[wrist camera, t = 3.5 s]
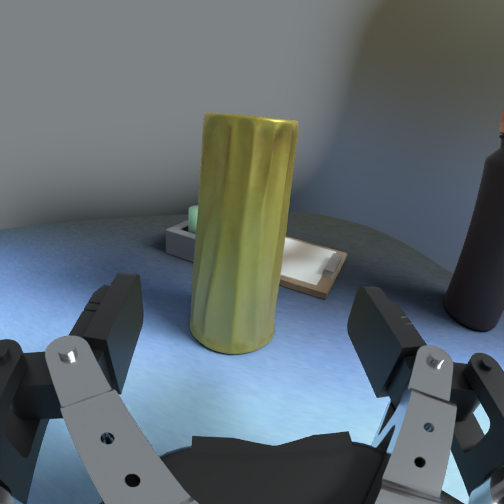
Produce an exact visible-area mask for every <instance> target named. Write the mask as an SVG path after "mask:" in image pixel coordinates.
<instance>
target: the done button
mask: <svg viewBox="0 0 504 504" xmlns="http://www.w3.org/2000/svg"><path fill="white" fill-rule="evenodd" d="M197 216H198V205H197V206H192V207H190V208H189V222H188V232H190V233H193V234H196V227H197Z"/></svg>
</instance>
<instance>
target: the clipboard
mask: <svg viewBox="0 0 504 504" xmlns="http://www.w3.org/2000/svg"><path fill="white" fill-rule="evenodd" d="M346 256H347V253H344V252H341V251H337V250H334V249H330V248H327V247H323V246H319V245H316V244H312V243H309V242H305V241H301V240H298V239H294V238H290V237H287V236H286V237H285V244H284V251H283V261H282V269H281V277H280V283H279V285H281V286H284V287H287V288H290V289H293V290H296V291H300V292H303V293H306V294H309V295H312V296H315V297H319V298H322V299H326V297H327V295H328V293H329V291H330V289H331V288H332V286H333V284H334V282H335V280H336V278H337V276H338V274H339V272H340V270H341V267H342V265H343V263H344V261H345V259H346Z"/></svg>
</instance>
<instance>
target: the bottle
mask: <svg viewBox="0 0 504 504" xmlns="http://www.w3.org/2000/svg"><path fill="white" fill-rule="evenodd" d="M499 132H500V133H501V134H502V135H500V136H499V137H500V138H501V147H500V149H498V150H497V151H496V152H494V153H493V154H491V155H490V156H489V157H487V159H486V161H485V165H484V170H483V175H482V179H481V184H480V188H479V192H478V197H477V201H476V205H475V208H474V212H473V216H472V219H471V223H470V226H469V230H468V233H467V236H466V239H465V242H464V246H463V249H462V252H461V255H460V257H459V260H458V263H457V266H456V269H455V272H454V274H453V277H452V280H451V282H450V285H449V287H448V290H447V292H446V295H445V298H444V305H445V307H446V310H447V311H448V313H449V314H450V315H451V316H452V317H453V318H454V319H455V320H457V321H458V322H459V323H461V324H463V325H464V326H466V327H469V328H471V329H474V330H479V331H488V330H491V329H493V328H494V327H495V326H496V325H497V323H498V321H499V319H500V317H501V315H502V313H503V310H504V110H503V111H502V115H501V124H500V131H499Z"/></svg>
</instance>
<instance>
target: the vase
mask: <svg viewBox="0 0 504 504" xmlns="http://www.w3.org/2000/svg"><path fill="white" fill-rule="evenodd" d="M202 135H203V136H202V150H201V166H200V180H199V202H198V216H197V227H196V237H195V251H194V263H193V276H192V299H191V315H190V323H189V325H190V330H191V333H192V334H193V336H194V337H195V338H196V339H197V340H198V341H199V342H200V343H202V344H203V345H204V346H206V347H207V348H209V349H211V350H214V351H217V352H221V353H225V354H245V353H250V352H253V351H256V350H258V349H260V348H262V347H264V346H265V345H266V344H268V343H269V342H270V340H271V339H272V338H273V335H274V332H275V324H274V318H275V308H276V302H277V296H278V290H279V283H280V277H281V269H282V261H283V251H284V244H285V237H286V229H287V219H288V210H289V201H290V192H291V183H292V176H293V167H294V160H295V153H296V145H297V137H298V121H293V120H285V119H278V118H269V117H260V116H250V115H238V114H224V113H206V114H205V115H204V122H203V134H202Z"/></svg>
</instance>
